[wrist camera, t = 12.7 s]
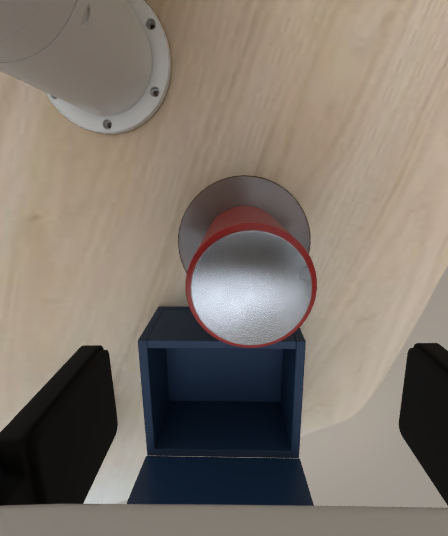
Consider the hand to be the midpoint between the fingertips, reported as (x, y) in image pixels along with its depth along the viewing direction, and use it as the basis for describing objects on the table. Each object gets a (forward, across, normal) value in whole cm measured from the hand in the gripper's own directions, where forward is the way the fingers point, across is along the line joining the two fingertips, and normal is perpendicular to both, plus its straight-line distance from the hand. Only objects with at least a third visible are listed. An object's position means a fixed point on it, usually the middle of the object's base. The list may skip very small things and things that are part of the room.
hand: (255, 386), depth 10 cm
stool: (+26, 0, -1) cm, 26 cm away
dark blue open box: (+26, +2, +14) cm, 30 cm away
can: (+18, 0, -1) cm, 18 cm away
